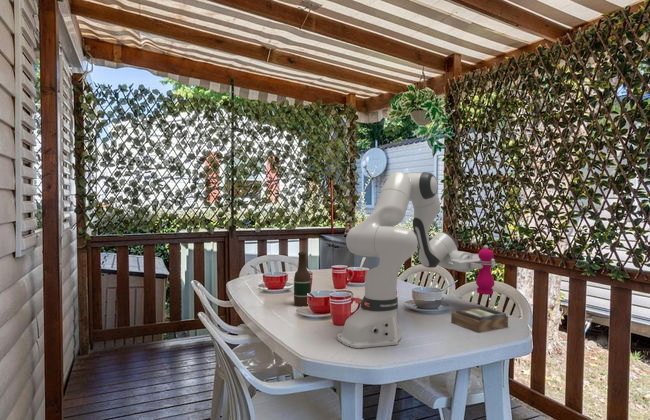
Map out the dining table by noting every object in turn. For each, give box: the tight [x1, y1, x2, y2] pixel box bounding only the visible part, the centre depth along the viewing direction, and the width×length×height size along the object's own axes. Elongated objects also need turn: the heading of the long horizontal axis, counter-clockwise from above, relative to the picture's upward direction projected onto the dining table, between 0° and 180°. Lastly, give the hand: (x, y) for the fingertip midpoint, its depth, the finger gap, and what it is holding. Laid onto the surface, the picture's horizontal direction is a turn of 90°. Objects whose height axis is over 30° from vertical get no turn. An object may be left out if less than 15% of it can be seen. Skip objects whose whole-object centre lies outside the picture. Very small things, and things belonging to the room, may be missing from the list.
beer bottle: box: [293, 251, 312, 308], centre depth 200 cm, size 8×8×24 cm
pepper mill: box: [475, 244, 495, 296], centre depth 182 cm, size 7×7×20 cm
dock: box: [450, 305, 509, 333], centre depth 169 cm, size 15×14×5 cm
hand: (487, 266), depth 182 cm, fingers closed on pepper mill, 5 cm apart
